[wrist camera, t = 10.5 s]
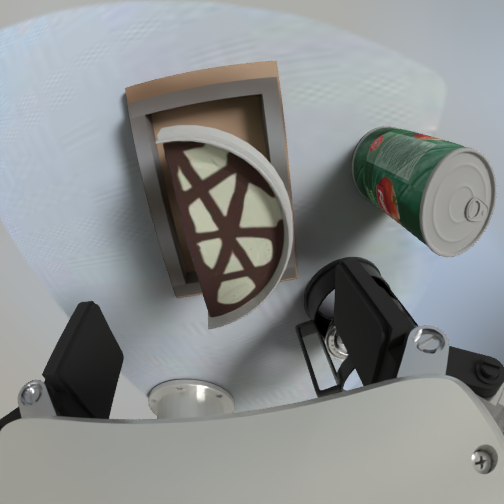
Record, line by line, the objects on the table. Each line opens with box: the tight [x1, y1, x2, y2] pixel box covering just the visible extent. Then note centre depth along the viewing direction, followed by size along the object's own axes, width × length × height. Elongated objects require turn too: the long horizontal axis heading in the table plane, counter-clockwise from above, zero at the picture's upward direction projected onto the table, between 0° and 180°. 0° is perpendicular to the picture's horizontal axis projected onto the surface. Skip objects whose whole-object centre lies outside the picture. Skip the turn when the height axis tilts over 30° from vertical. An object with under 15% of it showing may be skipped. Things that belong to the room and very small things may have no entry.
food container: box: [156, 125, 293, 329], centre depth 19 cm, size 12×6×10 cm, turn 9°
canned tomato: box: [351, 126, 496, 257], centre depth 20 cm, size 8×8×11 cm
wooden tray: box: [125, 61, 297, 298], centre depth 23 cm, size 20×12×3 cm, turn 7°
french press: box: [296, 257, 419, 398], centre depth 22 cm, size 12×9×23 cm
